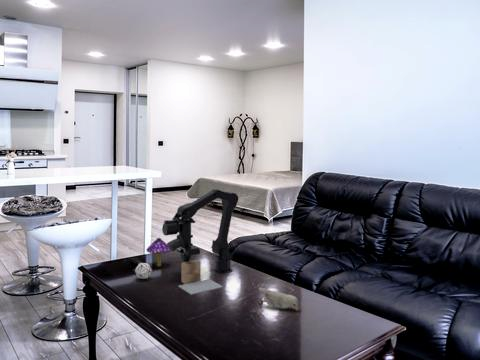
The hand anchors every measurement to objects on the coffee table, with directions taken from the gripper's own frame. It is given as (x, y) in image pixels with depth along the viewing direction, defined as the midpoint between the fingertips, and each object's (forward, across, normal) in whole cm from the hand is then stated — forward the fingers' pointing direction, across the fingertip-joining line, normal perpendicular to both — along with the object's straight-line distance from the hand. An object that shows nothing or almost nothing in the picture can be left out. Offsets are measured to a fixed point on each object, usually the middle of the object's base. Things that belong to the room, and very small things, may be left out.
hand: (185, 265), depth 194 cm
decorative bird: (+6, +52, +14) cm, 54 cm away
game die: (+6, -9, -17) cm, 20 cm away
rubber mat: (+6, +15, 0) cm, 16 cm away
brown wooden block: (+6, +6, 0) cm, 8 cm away
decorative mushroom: (+6, -23, -3) cm, 24 cm away
